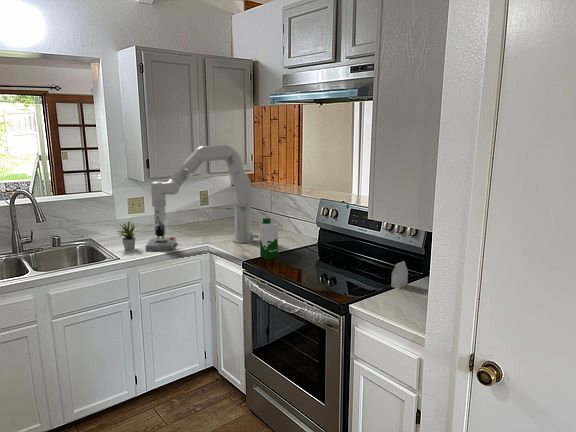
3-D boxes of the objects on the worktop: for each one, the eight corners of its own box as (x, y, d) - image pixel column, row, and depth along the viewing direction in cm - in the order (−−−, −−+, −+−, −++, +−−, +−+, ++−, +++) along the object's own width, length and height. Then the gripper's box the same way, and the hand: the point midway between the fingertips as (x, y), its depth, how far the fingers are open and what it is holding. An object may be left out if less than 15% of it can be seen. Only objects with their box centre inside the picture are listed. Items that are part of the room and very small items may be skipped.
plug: (165, 237, 248) (165, 225, 247) (164, 239, 245) (164, 226, 243) (156, 238, 248) (156, 225, 247) (155, 239, 244) (154, 226, 243)
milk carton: (271, 253, 231) (271, 217, 227) (281, 257, 223) (281, 219, 220) (257, 256, 226) (257, 219, 222) (267, 260, 218) (266, 221, 215)
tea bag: (407, 284, 182) (408, 261, 180) (399, 288, 177) (400, 265, 175) (399, 282, 184) (400, 260, 182) (391, 286, 179) (392, 263, 178)
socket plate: (176, 242, 257) (175, 236, 256) (171, 250, 239) (171, 243, 238) (152, 243, 255) (151, 237, 254) (145, 251, 238) (145, 244, 237)
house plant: (115, 246, 247) (113, 219, 244) (140, 244, 252) (139, 217, 249) (115, 253, 234) (112, 223, 231) (141, 250, 239) (139, 221, 236)
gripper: (163, 205, 235) (164, 238, 238) (168, 201, 251) (169, 231, 254) (149, 205, 234) (151, 238, 237) (154, 201, 250) (156, 232, 254)
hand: (160, 234), depth 246 cm, fingers closed on plug, 4 cm apart
